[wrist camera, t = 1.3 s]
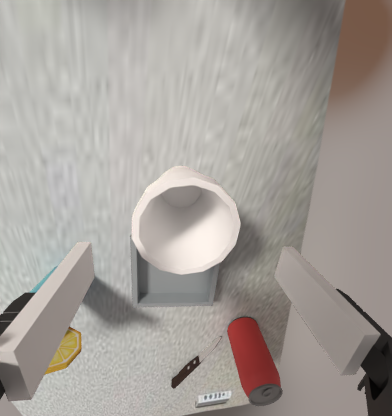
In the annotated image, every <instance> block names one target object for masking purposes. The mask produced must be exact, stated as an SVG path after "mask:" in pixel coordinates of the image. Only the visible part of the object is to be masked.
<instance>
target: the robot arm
mask: <svg viewBox="0 0 392 416" xmlns="http://www.w3.org/2000/svg"><path fill="white" fill-rule="evenodd" d="M94 277H95V274H94V265H93V257H92V248H91V242H77V244H76V245H75V246H74V247H73V248H72V250H71V251H70V252H69V253H68V254H67V256H66V257H65V258H64V259H63V261H62V262H61V263H60V264H59V265H58V267H57V268H56V269H55V270H54V272H53V273H52V274H51V275H50V276H49V278H48V279H47V280H46V281H45V282H44V284H43V285H42V286H41V287H40V289H39V290H38V291H37V292H35V293H24V294H23V295H22V296H20V297H19V298H17V299H16V300H14V301H13V302H12V303H11V304H10V305H9V306H8V307H7V308H6V310H5V311H4V312H3V314H1V315H0V399H1V397H2V396H3V394H4V393H5V394H6V396H7V399H8V401H18V400H31V399H32V397H33V395H34V394H35V392H36V390H37V388H38V386H39V384H40V382H41V380H42V378H43V376H44V374H45V372H46V370H47V368H48V366H49V365H50V363H51V361H52V359H53V357H54V355H55V353H56V351H57V349H58V347H59V345H60V343H61V341H62V339H63V337H64V335H65V334H66V332H67V330H68V328H69V326H70V324H71V322H72V320H73V318H74V316H75V314H76V312H77V310H78V308H79V306H80V305H81V303H82V301H83V299H84V297H85V295H86V293H87V291H88V289H89V287H90V285H91V283H92V281H93V279H94ZM274 277H275V279H276V280H277V282H278V283H279V285H280V286H281V288H282V289H283V291H284V292H285V294H286V295H287V297H288V298H289V300H290V301H291V303H292V304H293V306H294V307H295V308H296V310H297V311H298V313H299V314H300V316H301V317H302V319H303V320H304V322H305V323H306V325H307V326H308V328H309V329H310V331H311V332H312V334H313V335H314V336H315V338H316V340H317V341H318V342H319V344H320V345H321V347H322V348H323V350H324V351H325V353H326V354H327V356H328V357H329V359H330V360H331V361H332V363H333V365H334V366H335V368H336V369H337V371H338V372H339V373H340V375H352V374H353V375H354V374H356V372H357V371H358V369H359V367H360V366H361V367H362V368H363V369H364V371H365V372H366V374H365V376H364V377H363V379H362V380H361V382H360V383H359V385H358V390H359V391H361V389H362V388H363V386H365V394H366V399H367V408H368V416H392V337H391V336H389V335H388V334H387V333H386V332H385V331H384V330H383V329H382V328H381V327H380V326H379V325H378V324H377V323H376V322H375V321H374V320H373V319H372V318H371V317H370V316H369V315H368V314H367V313H366V312H363V310H362V309H361V308H360V307H359V306H358V305H356V303H355V302H354V301H353V300H352V299H351V298H350V297H349V296H348V295H346V294H345V293H343V292H342V291H340V290H339V289H335V288H334V287H333V286H332V285H331V284H330V283H329V282H328V281H327V280H326V279H325V278H324V277H323V276H322V275H321V274H320V273H319V272H318V271H317V270H316V269H315V268H314V267H313V266H312V265H311V264H310V263H309V262H308V261H307V260H306V259H305V258H304V257H303V256H302V255H301V254H300V253H299V252H298V251H297V250H296V249H295V248H294V247H287V246H283V248H282V252H281V255H280V258H279V262H278V265H277V268H276V272H275V275H274Z"/></svg>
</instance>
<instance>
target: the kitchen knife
mask: <svg viewBox="0 0 392 416" xmlns="http://www.w3.org/2000/svg"><path fill="white" fill-rule="evenodd" d="M220 339H221V337H219V338H217V339H215V340H214V341H213V342H212V343H211V344H210V345H209V346H208V347H207V348H206V349H205V350H204V351H202V352H201V353H200V354H199V355H198V356H197V357H196V358H194V359H193V360H192V361H190V362H189V363H188V364H187V365H186V366H185V367H184V368H183V369H182V370H181V371H180V372H179V374H178V375H177V376H176V377H174V378H173V379H172V385H171V386H172V388H173V389H174V388H176V387H177V386H178V385H179V384H180V383H181V382H182V381H183V380H184V379H185V378H186V377H187V376H188V375H189V374H190V373H191V372H192V371H193V370H194V369H195V368H196V367H197V366H198V365H199V364H200V363H201V361H202V360H203V359H204V358H205V357H206V356H207V355H208V354H209V353H210V352H211V351H212V350H213V349H214V348H215V347H216V345H217V344H218V342H219V340H220Z"/></svg>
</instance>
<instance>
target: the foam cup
mask: <svg viewBox="0 0 392 416" xmlns="http://www.w3.org/2000/svg"><path fill="white" fill-rule="evenodd" d="M240 226H241V222H240V219H239V215H238V211H237V207H236V203H235V202H234V201H233V199H232V198H231V197H230V196H229V194H228V193H227V192H226V191H225V190H224V189H223V188H222V187H221V186H220V185H219V184H218V183H217V182H216V181H215V180H214V179H213V178H211V177H208V176H205V175H202V174H201V173H199V172H197V171H195V170H194V169H191V168H188V167H186V166H177V167H172V168H171V169H169V170H168V171H166V172H165V173H164V174H163V175H162V176H161V177H160V178H159V179H158V180H157V181H155V182H154V183H152V184H151V185H149V186H148V187H147V189H146V190H145V192H144V194H143V195H142V197H141V199H140V200H139V202H138V204H137V206H136V208H135V210H134V213H133V215H132V240H133V242H134V244H135V246H136V247H137V249H138V251H139V253H140V255H141V257H142V258H143V259H145V260H146V261H148V262H149V263H151V264H152V265H153V266H155V267H156V268H158V269H159V270H162V271H167V272H171V273H176V274H180V275H183V274H190V273H197V272H203V271H205V270H207V269H209V268H211V267H212V266H214V265H216V264H218V263H220V262H221V261H223V260H224V258H225V257H226V256H227V255H228V253H229V252H230V251H231V250H232V249H233V247H234V246H235V245H236V242H237V238H238V234H239V230H240Z"/></svg>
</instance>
